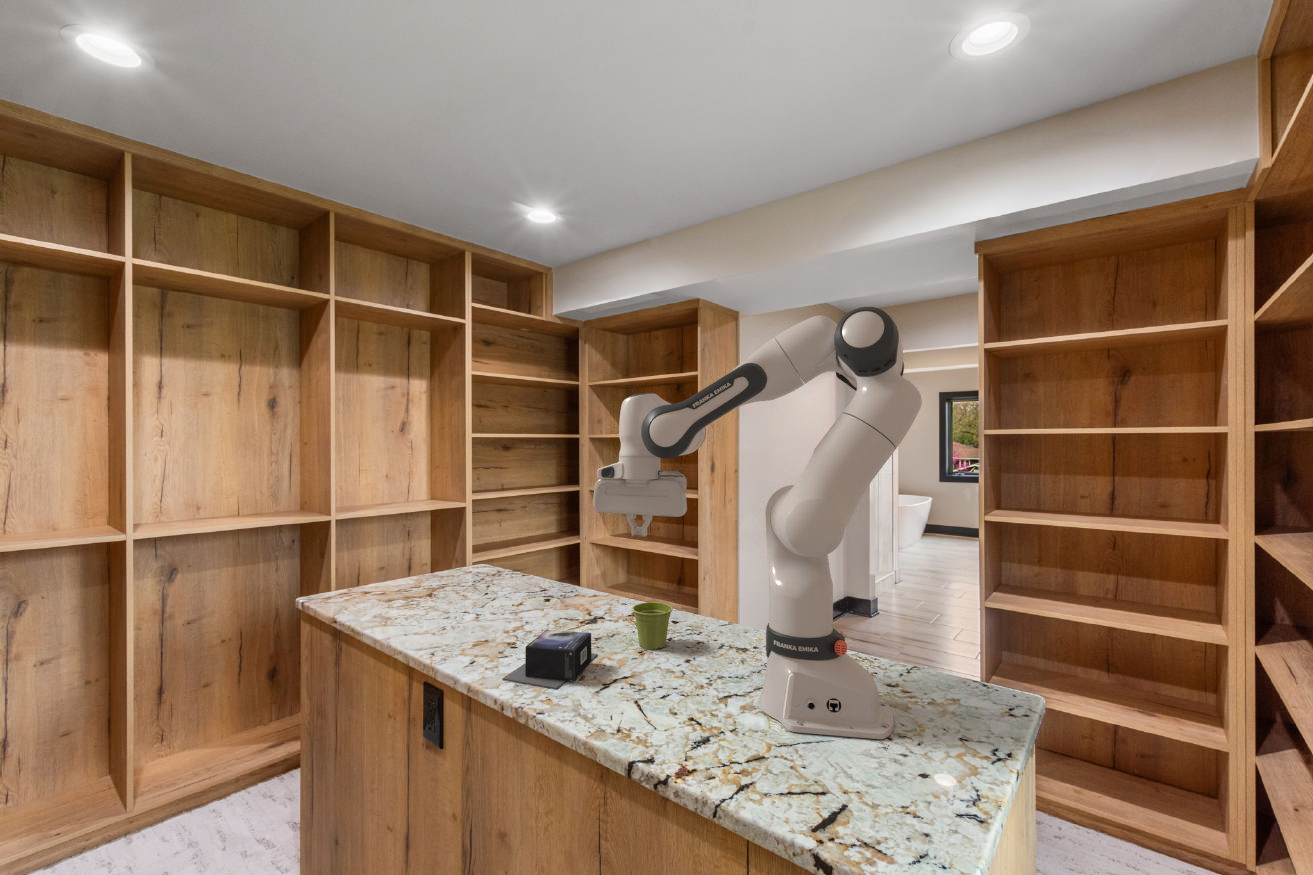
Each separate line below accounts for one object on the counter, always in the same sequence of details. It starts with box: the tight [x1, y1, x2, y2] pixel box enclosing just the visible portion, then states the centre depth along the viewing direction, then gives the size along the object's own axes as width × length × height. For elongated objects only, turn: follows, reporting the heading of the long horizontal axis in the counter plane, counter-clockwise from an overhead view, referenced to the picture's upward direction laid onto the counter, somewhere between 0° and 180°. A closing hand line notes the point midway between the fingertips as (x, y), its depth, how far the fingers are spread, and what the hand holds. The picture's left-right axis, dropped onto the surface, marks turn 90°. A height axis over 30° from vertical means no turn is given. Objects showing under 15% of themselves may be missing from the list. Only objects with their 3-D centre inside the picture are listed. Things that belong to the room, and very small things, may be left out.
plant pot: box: [631, 601, 674, 651], centre depth 131 cm, size 9×9×9 cm
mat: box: [501, 652, 598, 690], centre depth 118 cm, size 12×18×1 cm, turn 160°
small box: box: [524, 629, 592, 682], centre depth 116 cm, size 11×6×10 cm
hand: (639, 535), depth 120 cm, fingers closed
